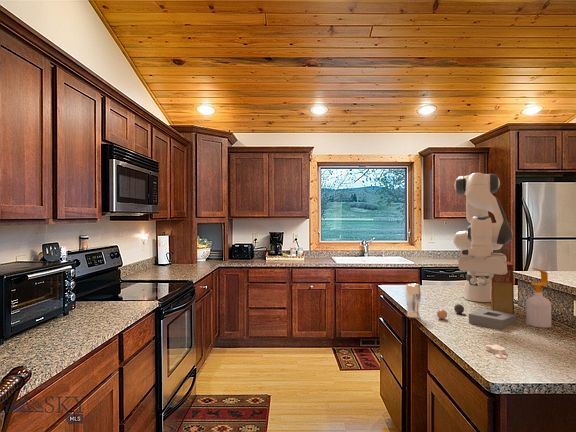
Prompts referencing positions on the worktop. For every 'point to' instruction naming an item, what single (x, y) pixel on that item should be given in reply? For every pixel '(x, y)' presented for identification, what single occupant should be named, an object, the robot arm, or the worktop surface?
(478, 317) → the housing
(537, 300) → the soap bottle
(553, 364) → the worktop surface
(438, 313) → the terracotta ball
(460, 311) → the black rubber ball
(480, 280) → the steel ball
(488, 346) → the brush
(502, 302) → the food packaging
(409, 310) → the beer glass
